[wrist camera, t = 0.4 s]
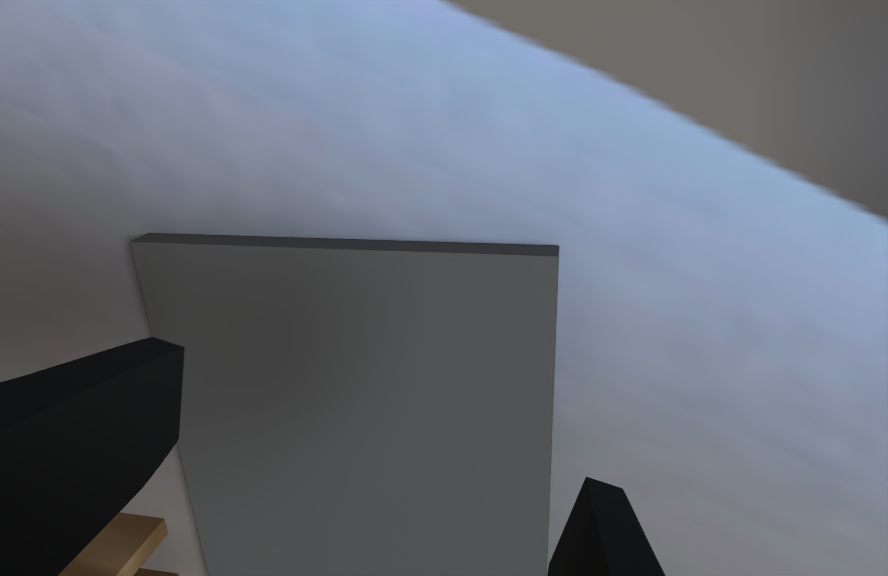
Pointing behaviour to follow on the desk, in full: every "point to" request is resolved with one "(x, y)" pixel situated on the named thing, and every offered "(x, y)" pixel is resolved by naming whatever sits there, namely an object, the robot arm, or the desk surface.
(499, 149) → the desk surface
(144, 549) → the oak stool
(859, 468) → the desk surface
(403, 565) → the charcoal mat
